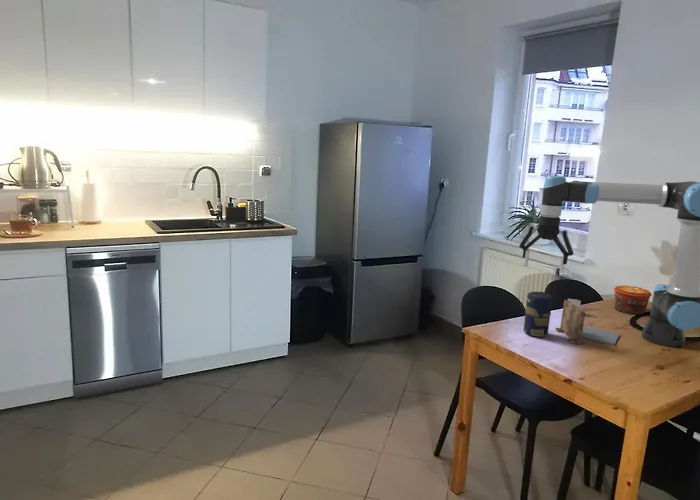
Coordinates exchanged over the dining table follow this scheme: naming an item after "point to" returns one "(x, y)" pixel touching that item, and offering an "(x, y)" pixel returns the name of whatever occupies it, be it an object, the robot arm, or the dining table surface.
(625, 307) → the food container
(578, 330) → the tan upright piece
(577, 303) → the architectural model
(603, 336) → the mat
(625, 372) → the dining table surface
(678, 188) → the robot arm
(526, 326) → the canister
